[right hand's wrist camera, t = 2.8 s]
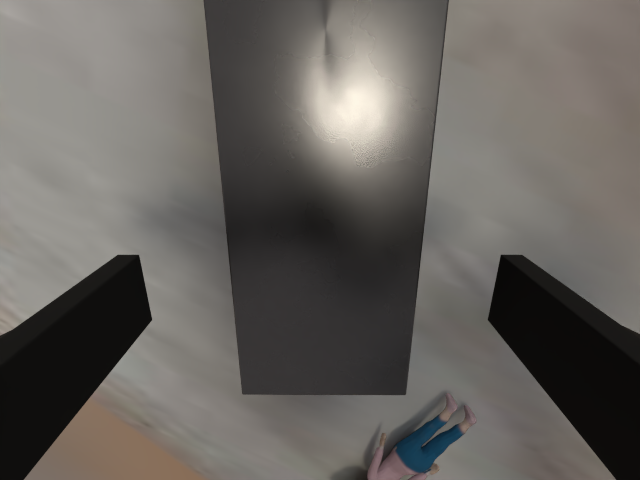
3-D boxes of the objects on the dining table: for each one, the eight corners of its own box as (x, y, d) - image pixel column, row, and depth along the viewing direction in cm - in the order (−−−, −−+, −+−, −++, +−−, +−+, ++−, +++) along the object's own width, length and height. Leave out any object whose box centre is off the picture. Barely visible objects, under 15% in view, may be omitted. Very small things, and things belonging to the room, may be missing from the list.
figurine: (427, 373, 27) (314, 487, 31) (448, 416, 23) (315, 544, 26) (479, 407, 29) (366, 514, 32) (509, 455, 24) (375, 573, 28)
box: (366, 265, 24) (406, 395, 13) (279, 265, 24) (242, 394, 13) (390, -204, 16) (554, -959, 5) (258, -203, 16) (109, -953, 5)
